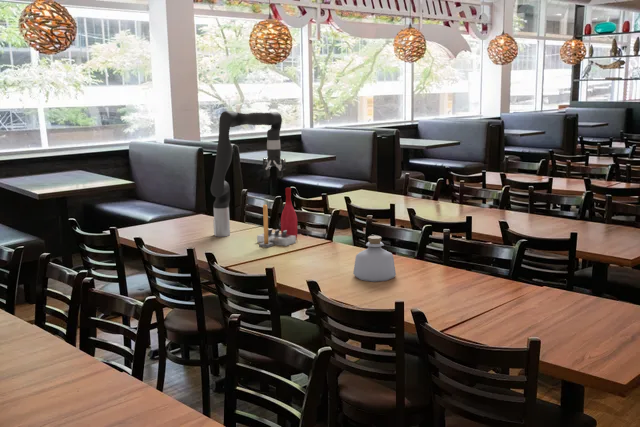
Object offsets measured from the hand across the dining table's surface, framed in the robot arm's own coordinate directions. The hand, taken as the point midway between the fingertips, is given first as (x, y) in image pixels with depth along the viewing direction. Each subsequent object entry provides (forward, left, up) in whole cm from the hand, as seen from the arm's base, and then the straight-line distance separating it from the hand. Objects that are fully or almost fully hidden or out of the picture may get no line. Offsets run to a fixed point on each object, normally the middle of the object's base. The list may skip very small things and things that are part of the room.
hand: (274, 176), depth 374 cm
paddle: (-3, +4, -34) cm, 34 cm away
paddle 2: (+3, -4, -34) cm, 34 cm away
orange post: (-8, -6, -38) cm, 39 cm away
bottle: (+23, -84, -38) cm, 95 cm away
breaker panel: (0, 0, -38) cm, 38 cm away
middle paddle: (0, 0, -34) cm, 34 cm away
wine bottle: (+10, +9, -38) cm, 41 cm away
